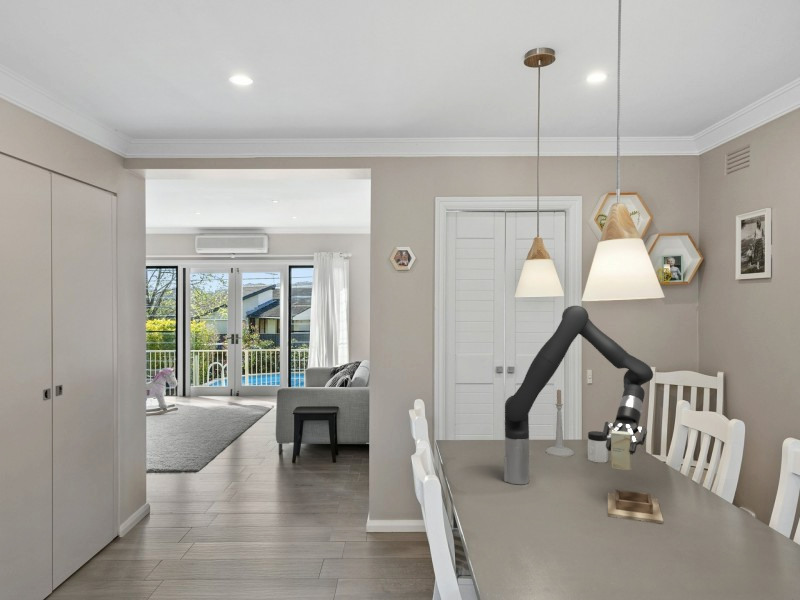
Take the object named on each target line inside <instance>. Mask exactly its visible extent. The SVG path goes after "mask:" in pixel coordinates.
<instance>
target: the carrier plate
mask: <svg viewBox="0 0 800 600" xmlns="http://www.w3.org/2000/svg"><path fill="white" fill-rule="evenodd" d="M607 517H610V518H616V517H617V519H623V518H625V520H631V519H633V520H632V521H638V520H641V521H640V522H645V521H649V522H648V523H652V522H657V523H656V524H659V523H663V524H664V518H663V516H662V512H661V508H660V505H659V500H658V498H653V497H652V496H651V493H649V492H648V493H647V492H639V491H630V490H621V489H615V493H610V492H607Z"/></svg>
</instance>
